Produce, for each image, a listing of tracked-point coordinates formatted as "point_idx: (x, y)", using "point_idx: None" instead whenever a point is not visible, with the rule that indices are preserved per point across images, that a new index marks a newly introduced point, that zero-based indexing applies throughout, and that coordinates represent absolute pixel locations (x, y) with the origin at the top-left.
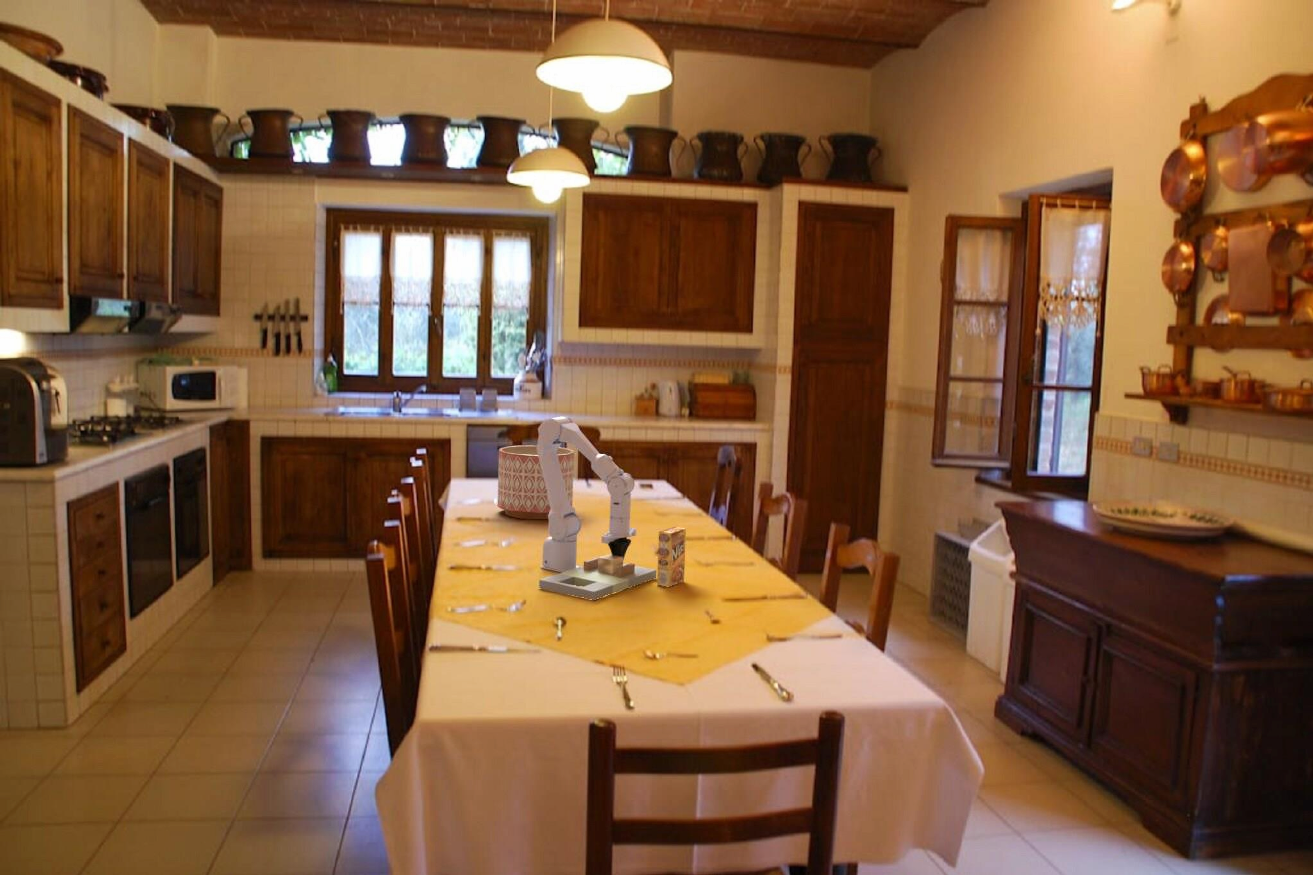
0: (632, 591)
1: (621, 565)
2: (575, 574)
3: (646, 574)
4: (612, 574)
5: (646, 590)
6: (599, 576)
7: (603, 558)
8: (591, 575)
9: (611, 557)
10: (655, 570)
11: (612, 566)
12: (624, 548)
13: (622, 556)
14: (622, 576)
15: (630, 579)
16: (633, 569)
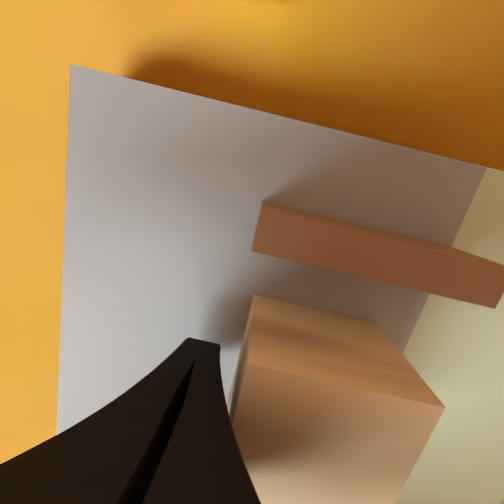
0: (500, 119)
1: (275, 322)
2: (456, 493)
3: (227, 105)
4: (375, 324)
5: (445, 31)
6: (459, 376)
7: (395, 498)
8: (449, 421)
9: (323, 453)
10: (85, 68)
11: (404, 364)
12: (142, 461)
13: (191, 382)
14: (426, 240)
15: (459, 161)
16: (280, 207)
